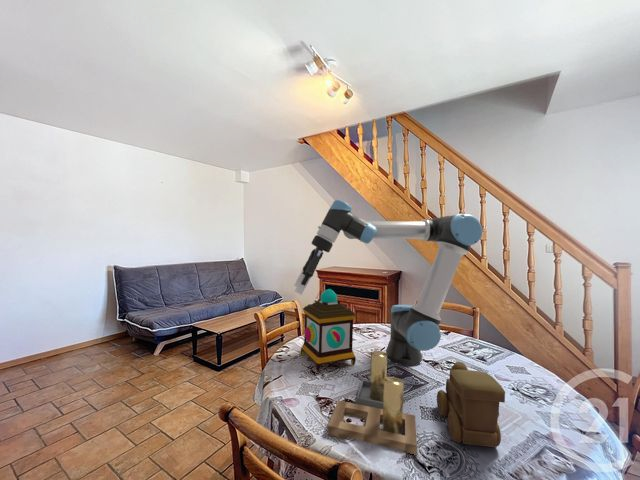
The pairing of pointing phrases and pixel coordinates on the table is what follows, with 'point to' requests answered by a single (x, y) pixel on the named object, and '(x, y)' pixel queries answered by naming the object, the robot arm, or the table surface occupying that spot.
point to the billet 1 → (378, 375)
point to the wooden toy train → (471, 406)
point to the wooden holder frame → (372, 427)
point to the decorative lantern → (328, 331)
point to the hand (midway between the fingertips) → (297, 289)
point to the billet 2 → (393, 405)
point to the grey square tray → (367, 396)
